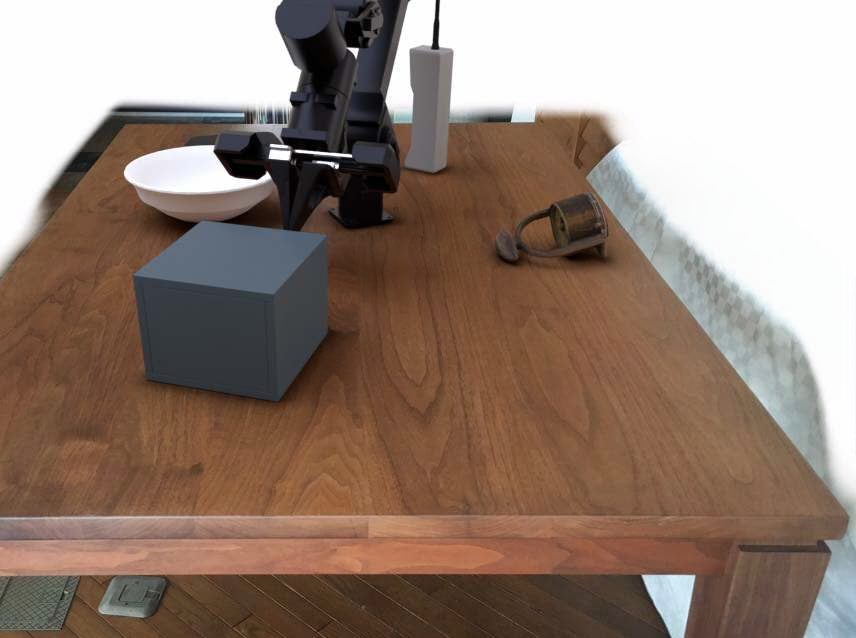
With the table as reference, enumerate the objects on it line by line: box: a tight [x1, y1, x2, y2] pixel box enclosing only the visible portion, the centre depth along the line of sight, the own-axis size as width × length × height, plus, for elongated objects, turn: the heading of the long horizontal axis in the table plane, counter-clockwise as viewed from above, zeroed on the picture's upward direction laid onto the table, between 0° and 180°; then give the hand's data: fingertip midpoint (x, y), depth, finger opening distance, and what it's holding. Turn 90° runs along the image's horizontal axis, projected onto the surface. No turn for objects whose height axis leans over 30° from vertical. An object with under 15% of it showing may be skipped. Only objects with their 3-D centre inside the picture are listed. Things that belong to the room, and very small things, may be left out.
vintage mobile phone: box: [404, 0, 455, 175], centre depth 127 cm, size 4×5×25 cm
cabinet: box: [132, 221, 329, 403], centre depth 81 cm, size 14×13×10 cm
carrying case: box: [183, 131, 283, 147], centre depth 136 cm, size 11×3×15 cm
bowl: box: [123, 145, 275, 224], centre depth 115 cm, size 20×20×6 cm
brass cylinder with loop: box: [494, 191, 609, 262], centre depth 103 cm, size 7×13×10 cm
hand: (288, 237), depth 91 cm, fingers closed
